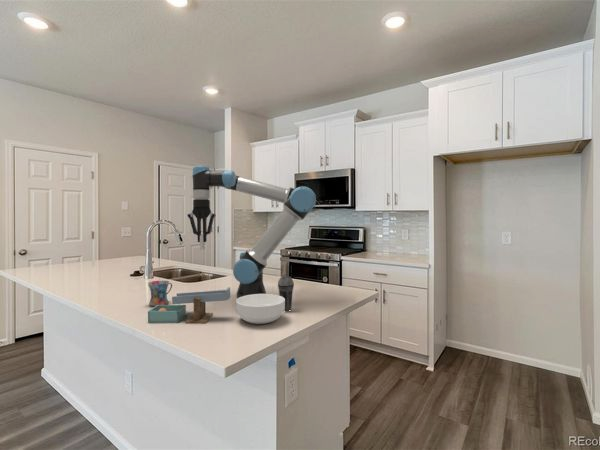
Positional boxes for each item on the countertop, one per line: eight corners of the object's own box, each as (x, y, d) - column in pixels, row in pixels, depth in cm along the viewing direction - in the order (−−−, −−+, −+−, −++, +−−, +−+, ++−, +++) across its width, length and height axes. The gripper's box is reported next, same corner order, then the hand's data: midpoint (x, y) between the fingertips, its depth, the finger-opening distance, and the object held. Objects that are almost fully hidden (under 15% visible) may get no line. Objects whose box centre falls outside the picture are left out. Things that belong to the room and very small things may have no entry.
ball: (168, 307, 135) (159, 306, 135) (165, 309, 132) (156, 309, 132) (168, 315, 135) (159, 315, 135) (165, 318, 132) (155, 318, 132)
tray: (185, 315, 138) (185, 304, 138) (178, 322, 129) (178, 311, 129) (157, 315, 138) (157, 305, 138) (147, 322, 129) (147, 311, 129)
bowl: (264, 332, 119) (264, 309, 119) (225, 322, 130) (225, 301, 129) (294, 318, 136) (294, 297, 136) (257, 310, 146) (257, 291, 146)
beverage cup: (296, 309, 148) (296, 265, 148) (290, 313, 141) (290, 267, 141) (281, 307, 151) (281, 264, 150) (274, 311, 144) (275, 266, 143)
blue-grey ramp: (233, 293, 144) (232, 283, 144) (227, 301, 131) (227, 290, 131) (183, 296, 143) (182, 287, 143) (172, 305, 130) (171, 294, 130)
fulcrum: (212, 314, 140) (212, 292, 139) (206, 323, 129) (206, 299, 128) (193, 314, 139) (193, 292, 139) (185, 323, 128) (185, 299, 128)
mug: (156, 308, 148) (156, 285, 147) (143, 305, 152) (143, 283, 152) (178, 302, 158) (178, 280, 158) (165, 300, 163) (165, 278, 162)
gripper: (217, 199, 159) (217, 248, 159) (189, 199, 158) (190, 248, 159) (213, 198, 151) (214, 249, 152) (185, 198, 150) (185, 250, 151)
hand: (202, 249), depth 155 cm, fingers closed
